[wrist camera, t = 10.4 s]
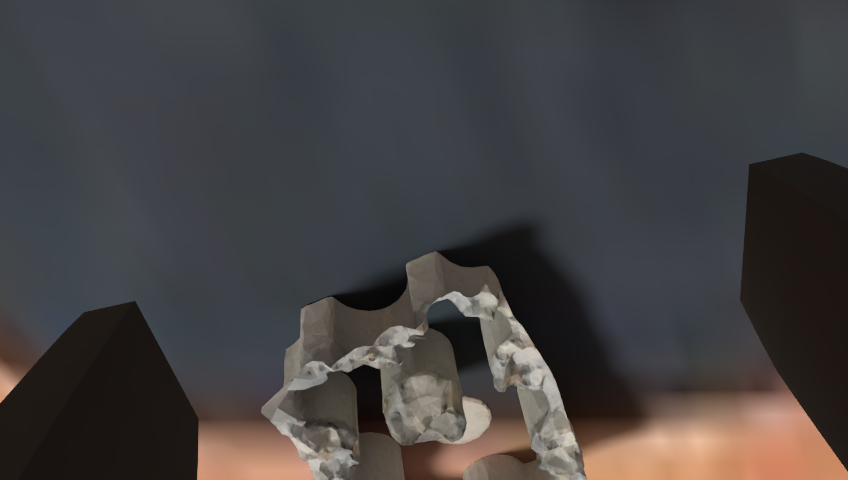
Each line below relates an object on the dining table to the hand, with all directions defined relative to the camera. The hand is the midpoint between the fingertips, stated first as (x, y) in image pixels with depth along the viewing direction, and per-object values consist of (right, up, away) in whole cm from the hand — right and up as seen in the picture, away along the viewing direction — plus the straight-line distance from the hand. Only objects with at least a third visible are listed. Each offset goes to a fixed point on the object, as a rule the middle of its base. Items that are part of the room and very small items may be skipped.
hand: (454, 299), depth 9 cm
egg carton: (0, -4, +16) cm, 17 cm away
